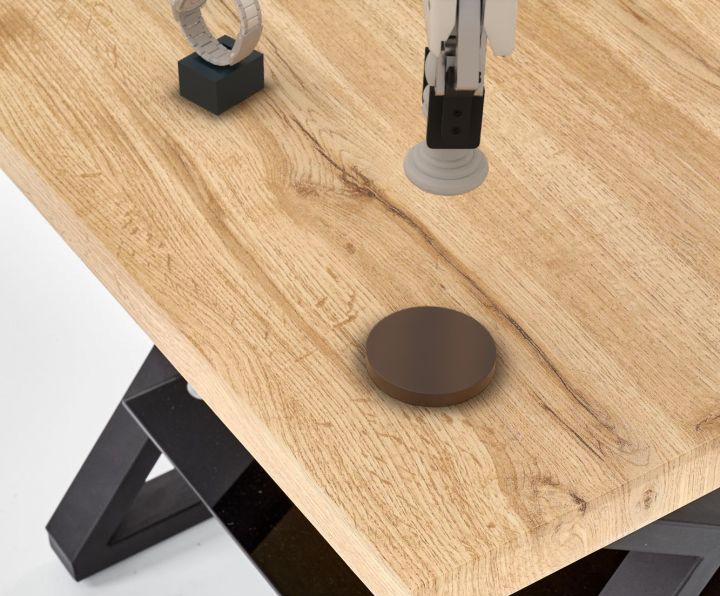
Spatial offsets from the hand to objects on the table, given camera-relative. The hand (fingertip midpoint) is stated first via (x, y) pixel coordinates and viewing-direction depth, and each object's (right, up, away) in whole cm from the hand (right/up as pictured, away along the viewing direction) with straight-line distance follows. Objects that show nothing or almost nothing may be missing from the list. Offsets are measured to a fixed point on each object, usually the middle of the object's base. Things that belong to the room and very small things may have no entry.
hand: (450, 123), depth 96 cm
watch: (-17, +12, +34) cm, 40 cm away
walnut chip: (-1, -13, +13) cm, 18 cm away
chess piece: (0, -2, +3) cm, 4 cm away
